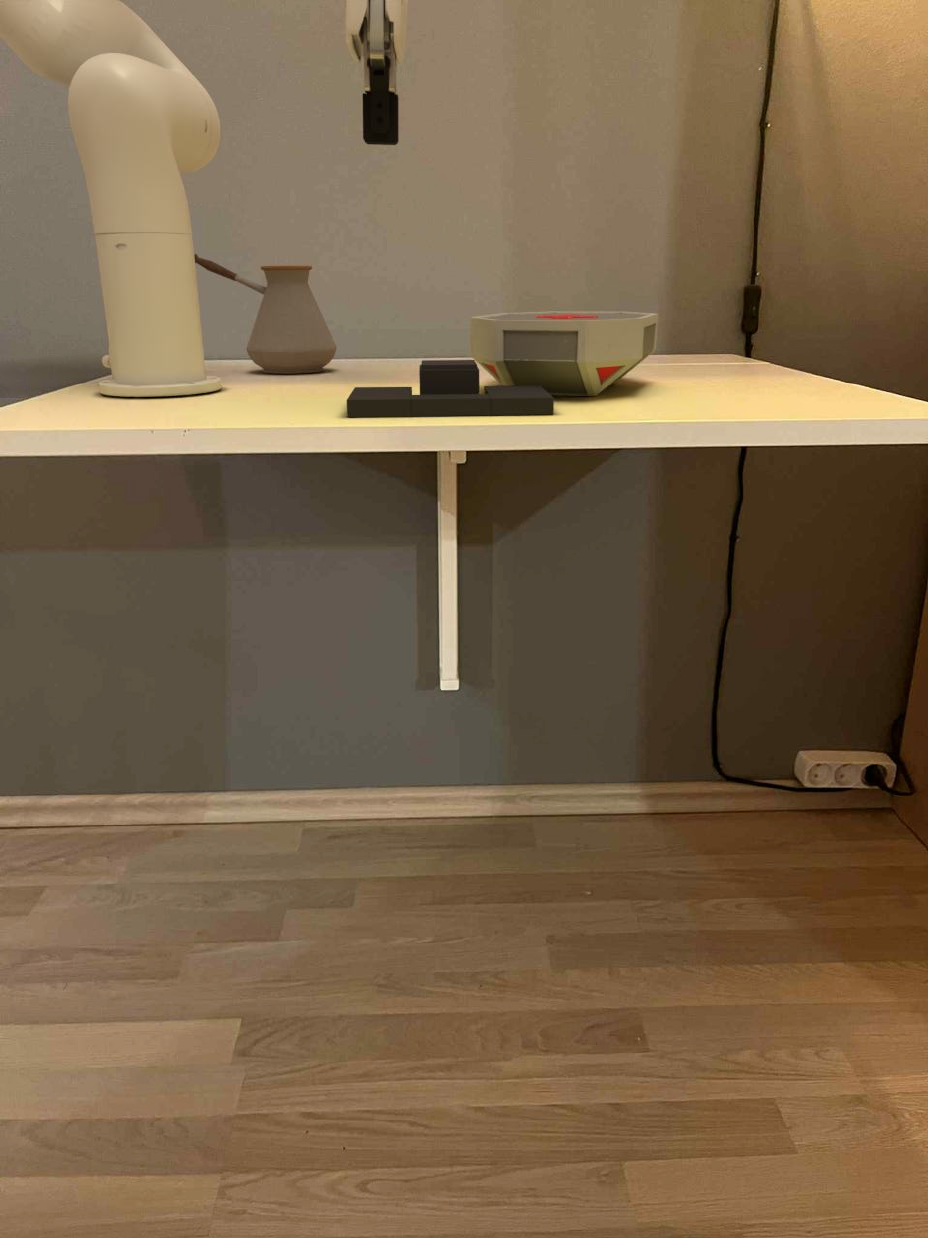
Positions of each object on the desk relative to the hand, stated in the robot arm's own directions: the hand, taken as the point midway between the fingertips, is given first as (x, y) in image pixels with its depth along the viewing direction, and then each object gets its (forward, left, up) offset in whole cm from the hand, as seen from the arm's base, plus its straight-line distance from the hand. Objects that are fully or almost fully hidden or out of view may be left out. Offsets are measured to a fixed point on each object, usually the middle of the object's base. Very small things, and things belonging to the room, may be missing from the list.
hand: (380, 142), depth 89 cm
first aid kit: (+10, +17, -23) cm, 31 cm away
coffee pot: (-34, +11, -23) cm, 43 cm away
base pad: (+11, -3, -23) cm, 26 cm away
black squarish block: (+10, -2, -23) cm, 25 cm away
